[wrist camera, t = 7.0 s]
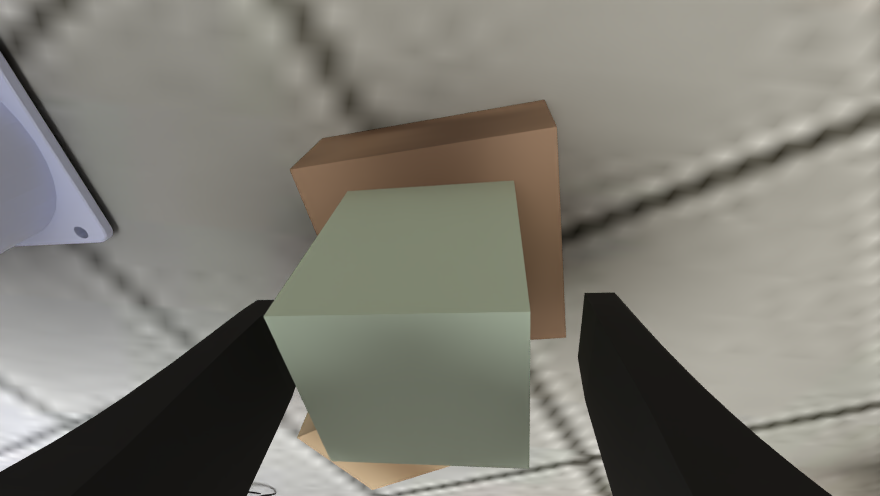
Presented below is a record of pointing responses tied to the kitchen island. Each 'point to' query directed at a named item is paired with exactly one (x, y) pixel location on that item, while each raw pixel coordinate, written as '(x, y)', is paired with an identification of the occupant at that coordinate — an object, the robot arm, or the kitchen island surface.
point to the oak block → (366, 472)
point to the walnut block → (459, 181)
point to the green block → (414, 328)
